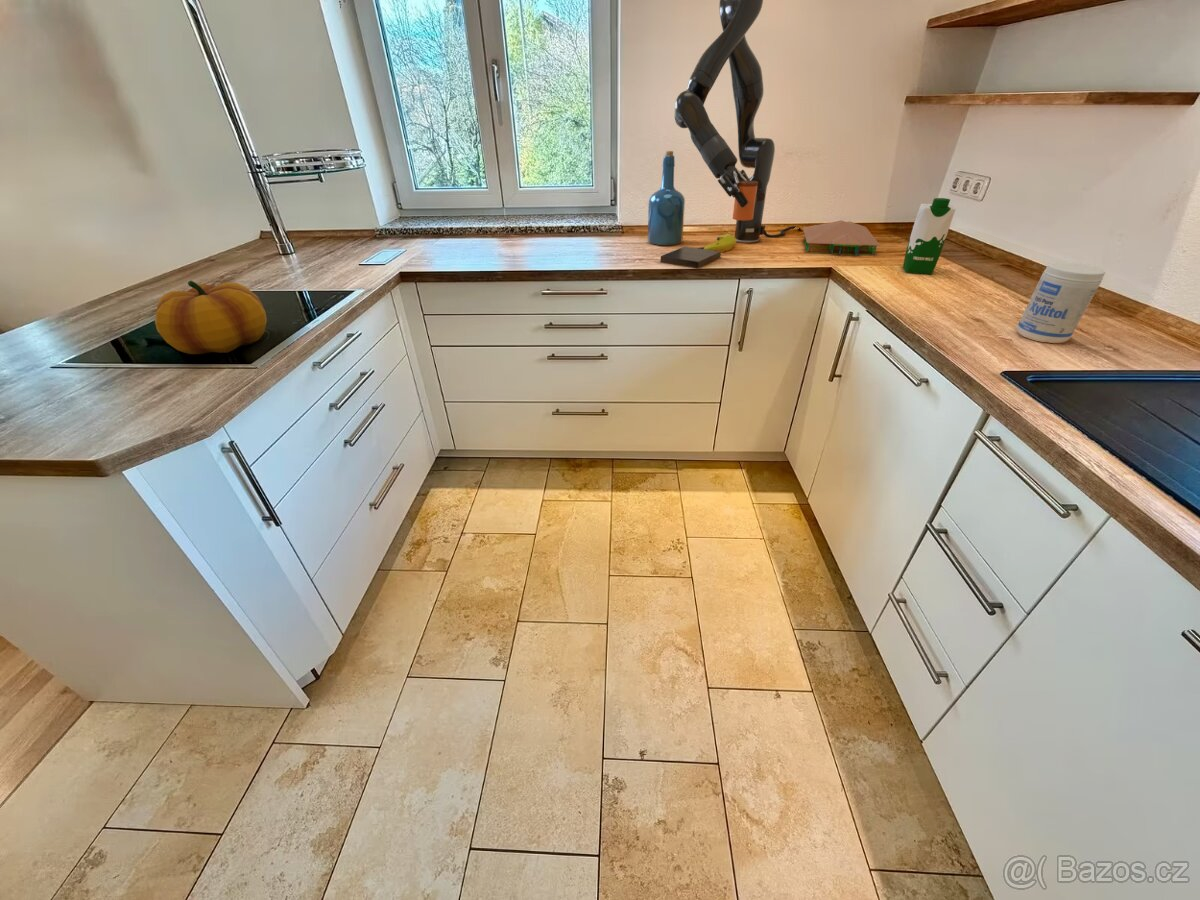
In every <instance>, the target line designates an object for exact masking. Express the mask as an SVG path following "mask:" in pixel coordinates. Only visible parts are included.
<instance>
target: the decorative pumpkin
mask: <svg viewBox="0 0 1200 900" xmlns="http://www.w3.org/2000/svg"><path fill="white" fill-rule="evenodd" d="M187 285H188V286H189V287H191V288H190V289H189V290H172V291H169V292H167V293H164V294H163V295H162V296H161V298H160V299H159V300H158V302H157V305H156V309H155V317H154V324H155V328H156V331H157V333H158V334H159V336H161V337H162V339H163V340H164V341H165V342H166V343H167V345H169V346H171V347H172V348H174V349H175V350H176V351H179V352H182V353H184V354H188V355H206V354H209V353H217V354H228V353H230V352H232V351H235V350H236V349H237V348H239V347H243V346H248V345H251V344H254V343H256V342H257V341H259V340H261V338H262V337H263V335H264V334H265V331H266V326H267V322H268V320H267V314H266V313H267V312H266V309H265V308H264V305H263V303H262V301H261V300H260V298H259V297H258V295H256V294H255V293H254V292H253V291H251V290H250V289H249V288H248V287H247V286H245V285H243V284H241V283H237V282H224V283H221V284H218V285H211V284H205V283H197V282H195V281H193V280H189V281H188V282H187Z"/></svg>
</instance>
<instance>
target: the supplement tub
mask: <svg viewBox="0 0 1200 900" xmlns="http://www.w3.org/2000/svg"><path fill="white" fill-rule="evenodd" d="M1105 274H1106V270H1105V269H1104V268H1102V267H1099V266H1096V265H1092V264H1088V263H1082V262H1074V261H1052V262H1049V263H1048V264H1047V266H1046V267H1045V269H1044V271H1043V272H1042V275H1041V276H1040V278H1039V280H1038V282H1037V284H1036V286H1035V288H1034V291H1033V292H1032V294H1031V297H1030V299H1029V301H1028V302H1027V305H1026V307H1025V309H1024V311H1023V313H1022V315H1021V317H1020V319H1019V322H1018V324H1017V326H1016V332H1017V333H1018V334H1019V335H1020V336H1022V337H1024V338H1026V339H1029V340H1033V341H1036V342H1041V343H1050V344H1061V343H1065V342H1067V341H1069V340H1070V339H1071V338H1072V336H1073V334H1074V332H1075V330H1076V329H1077V327H1078V325H1079V323H1080V322H1081V320H1082V318H1083V316H1084V314H1085V312H1086V311H1087V309H1088V307H1089V305H1090V303H1091V302H1092V300H1093V298H1094V296H1095V294H1096V293H1097V291H1098V289H1099V288H1100V285H1101V284H1102V281H1103V280H1104V276H1105Z"/></svg>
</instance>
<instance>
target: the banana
mask: <svg viewBox="0 0 1200 900" xmlns="http://www.w3.org/2000/svg"><path fill="white" fill-rule="evenodd" d="M736 243H738V242H737V239H736V238H735V235H732V234H731V233H724V234H723V235H720V236H718V237H717V239H716V241H715V242H712V243H709V244H707V245H705V246H700V247H698V248H699V249H706V250H713V251H721V253H725V252H728V251H731V249H732V248H733V247H734V246H735V245H736Z"/></svg>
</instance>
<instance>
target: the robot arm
mask: <svg viewBox="0 0 1200 900" xmlns="http://www.w3.org/2000/svg"><path fill="white" fill-rule="evenodd" d="M763 3H764V0H719V5H718V7H719V19H720V24H721V28H722V32H721V33H720V34H719V35H718V36H717V38H716V39H714V41H713V42H711V44H710V45H709V46H708V47H707V48H705V51H704V52H703V53H702V54H701V55H700V58H699V59H698V61H697V63H696V65H695V67H694V69H693V70H692V73H691V75H690V77H689V80H688V84H687V87H686V89H685V90H683V91H682V92H680V93H679V94H678V95H677V97H676V98H675V99H676V100H675V102H674V103H675V104H674V112H673V113H674V114H673V115H674V116H673V117H674V122H675V123H676V126H677V127H679V128H681V129H688V131H689V134H690V139H691V142H692V143H693V145H694V147H695V148H696V149H697V151H698V152H699V154H700V156H701V158H702V160H703V162H704V163H705V165H706V166H707V167H708V169H709V170H710V172H711V173H712V175H713V176H714V177H715V179H717V182H718V184H719V185H720V187H721V188H722V189H723V190H724V192H725V193H726V194H727V195H728V197H732V198H733V199H735V198H736V200H737V201H738V203H739V204H740V206H741V207H744V206H746V205H747V204H748V201H747V199H746V198H745V196H744V195H743V193H742V192H741V190H740V188H739V181H746V180H748V181H757V182H758V185H757V193H756V200H755V207H754V214H753V219H752V220H744V221H743V220H735V229H734V237H735V238H736V239H737V242H736V243H741V244H754V243H758V242H760V238H761V237H760V236H763V235H764V236H765V237H767V238H780V237H785V235H786V232H788V231H790V230H795V229H794V228H795V227H796V226H797V225H792V226H789V227H785V228H783V229H781V230H780V233H777V234H769V233H767V231H766V225H764V224H762V223H763V216H764V209H765V203H766V196H767V191H768V190H767V189H768V185H769V182H770V179H771V174H772V168H773V164H774V159H775V153H776V152H775V151H776V147H775V143H774V140H773V139H772V138H769V137H756V136H755V135H756V134H755V128H754V127H755V126H754V123H755V118H756V116H757V112H758V110H759V109H760V106H761V103H762V101H763V97H764V79H763V78H764V77H763V70H762V67H761V64H760V62H759V60H758V58H757V57H756V55H755V54H754V52H753V50H752V49H751V47H750V45H749V43H748V41H747V37H746V34H747V33H748V32H749V30H750V28H751V27H752V26H753V25H754V23H755V22H756V20H757V18H758V17H759V15H760V13H761V11H762V8H763ZM727 61H728V63H729V70H730V75H731V76H730V77H731V87H732V95H733V101H734V107H735V108H734V109H735V117H736V124H737V127H736V128H737V148H738V158H737V156H736V155H735V153H734V152H733V150H732V149H731V147H730V146H729V144H728V143H727V142H726V140H725V139H724V138H723V136H721V134H720V133H719V132H718V130H717V129H716V127H715V126H714V124H713V123H712V122H711V119H710V117H709V115H708V112H707V110H706V108H705V105H704V104H705V102H706V100H707V99H708V98H707V97H708V96H709V94H710V91H712V88H713V87H714V84H715V83H716V81H717V79H718V77H719V75H720V74H721V72H722V70H723V68H724V66H725V65H726V62H727ZM738 159H739V162H740V165H741V166H742V167H743V168H745V169H754V171H753V174H752V175H751V176H750V177H749V176H748V174H747V173H746V171H745V169H741V170H739V169H738V168H737V167H736V164H737V163H738ZM796 230H797V231H798V232H802V229H801V227H799V229H796Z"/></svg>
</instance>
